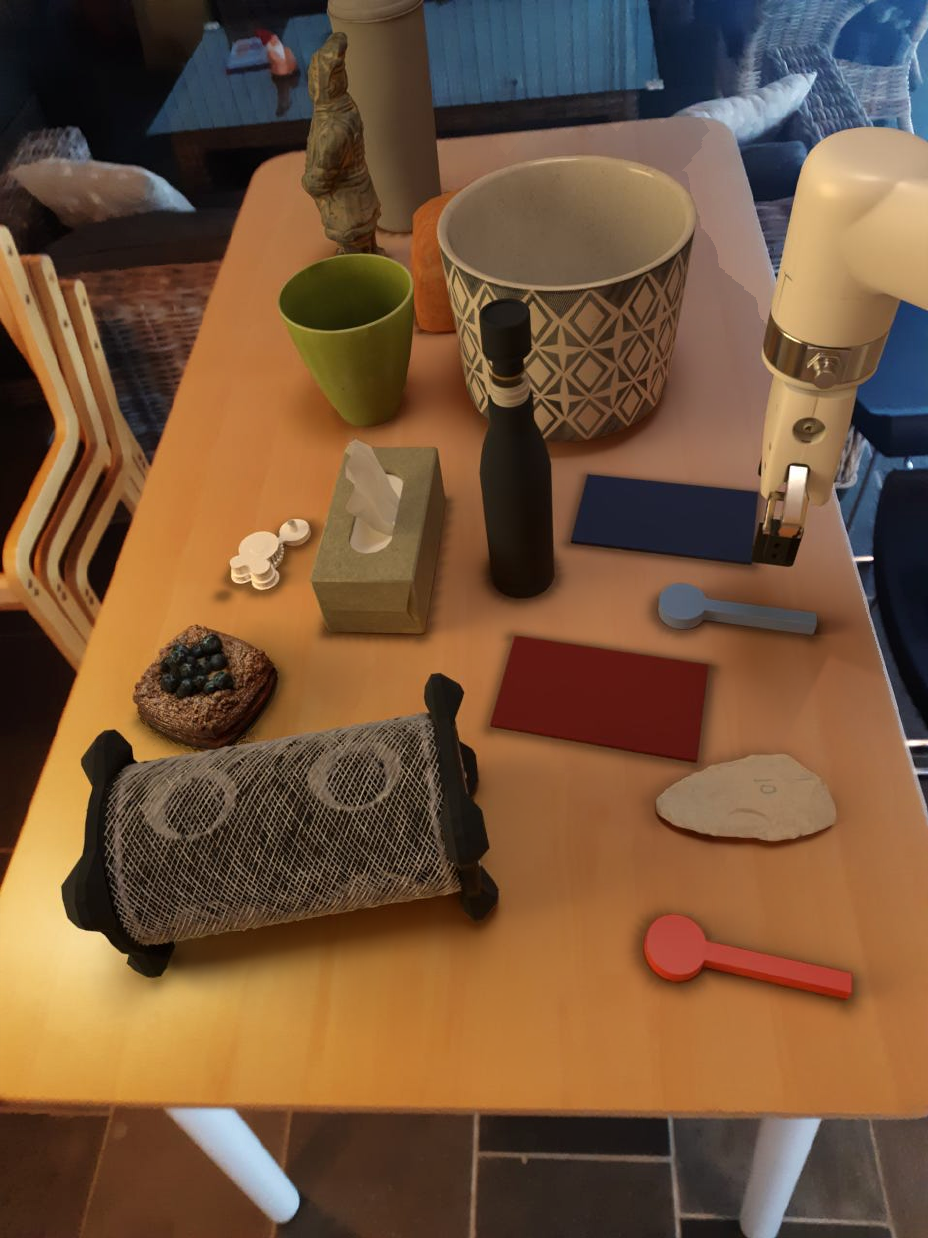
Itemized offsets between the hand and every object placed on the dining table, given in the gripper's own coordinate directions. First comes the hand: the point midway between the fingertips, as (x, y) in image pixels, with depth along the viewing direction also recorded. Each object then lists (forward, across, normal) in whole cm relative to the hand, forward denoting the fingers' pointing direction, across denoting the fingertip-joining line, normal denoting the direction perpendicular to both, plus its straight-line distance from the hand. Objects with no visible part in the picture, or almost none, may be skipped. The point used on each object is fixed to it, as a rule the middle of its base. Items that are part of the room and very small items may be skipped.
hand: (774, 517), depth 72 cm
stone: (+14, -19, -1) cm, 24 cm away
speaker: (+14, -31, +32) cm, 47 cm away
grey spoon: (+14, 0, +1) cm, 14 cm away
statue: (+15, +54, +58) cm, 81 cm away
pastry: (+15, -18, +48) cm, 53 cm away
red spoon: (+14, -32, -2) cm, 35 cm away
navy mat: (+14, +12, +9) cm, 21 cm away
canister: (+15, +70, +55) cm, 90 cm away
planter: (+15, +31, +23) cm, 41 cm away
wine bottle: (+14, +2, +22) cm, 26 cm away
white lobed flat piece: (+15, -1, +49) cm, 51 cm away
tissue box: (+15, +1, +36) cm, 39 cm away
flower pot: (+15, +25, +46) cm, 54 cm away
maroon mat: (+14, -11, +12) cm, 21 cm away
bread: (+15, +51, +31) cm, 62 cm away
